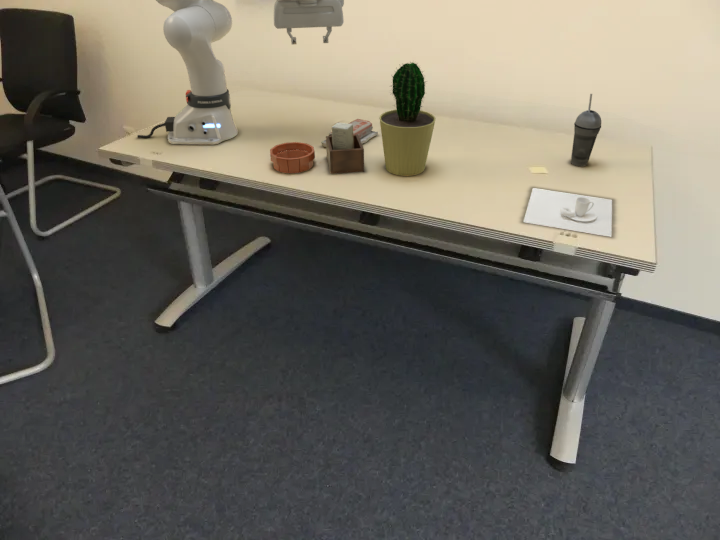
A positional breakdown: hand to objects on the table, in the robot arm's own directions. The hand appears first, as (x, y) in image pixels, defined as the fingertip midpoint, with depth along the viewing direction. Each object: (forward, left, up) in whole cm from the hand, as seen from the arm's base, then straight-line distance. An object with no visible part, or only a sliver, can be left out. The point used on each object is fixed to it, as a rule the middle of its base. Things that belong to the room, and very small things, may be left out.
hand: (309, 43), depth 165 cm
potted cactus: (+24, -28, -29) cm, 47 cm away
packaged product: (+11, -5, -29) cm, 32 cm away
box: (+7, -23, -28) cm, 37 cm away
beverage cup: (+75, -33, -29) cm, 87 cm away
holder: (+7, -23, -29) cm, 38 cm away
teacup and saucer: (+59, -60, -29) cm, 89 cm away
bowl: (-8, -21, -29) cm, 37 cm away
